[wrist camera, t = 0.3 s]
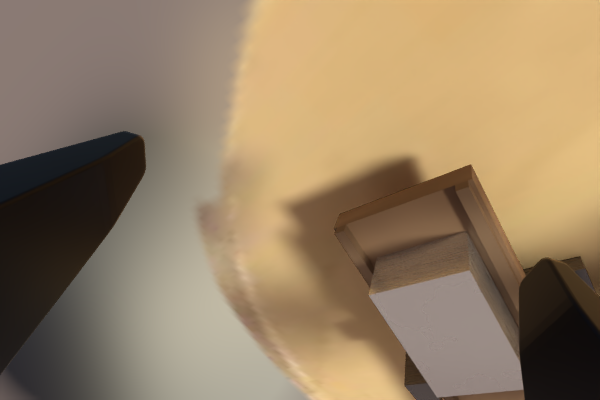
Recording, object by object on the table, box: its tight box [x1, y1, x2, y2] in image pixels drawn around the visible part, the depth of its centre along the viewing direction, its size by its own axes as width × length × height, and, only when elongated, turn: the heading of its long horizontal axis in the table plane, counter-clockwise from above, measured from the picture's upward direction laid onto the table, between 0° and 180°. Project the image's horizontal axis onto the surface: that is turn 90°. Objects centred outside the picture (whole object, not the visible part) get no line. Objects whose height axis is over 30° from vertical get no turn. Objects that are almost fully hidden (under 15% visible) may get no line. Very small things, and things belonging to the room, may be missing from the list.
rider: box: [369, 231, 523, 398], centre depth 21 cm, size 8×5×3 cm, turn 35°
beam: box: [334, 165, 526, 400], centre depth 25 cm, size 28×8×2 cm, turn 35°
